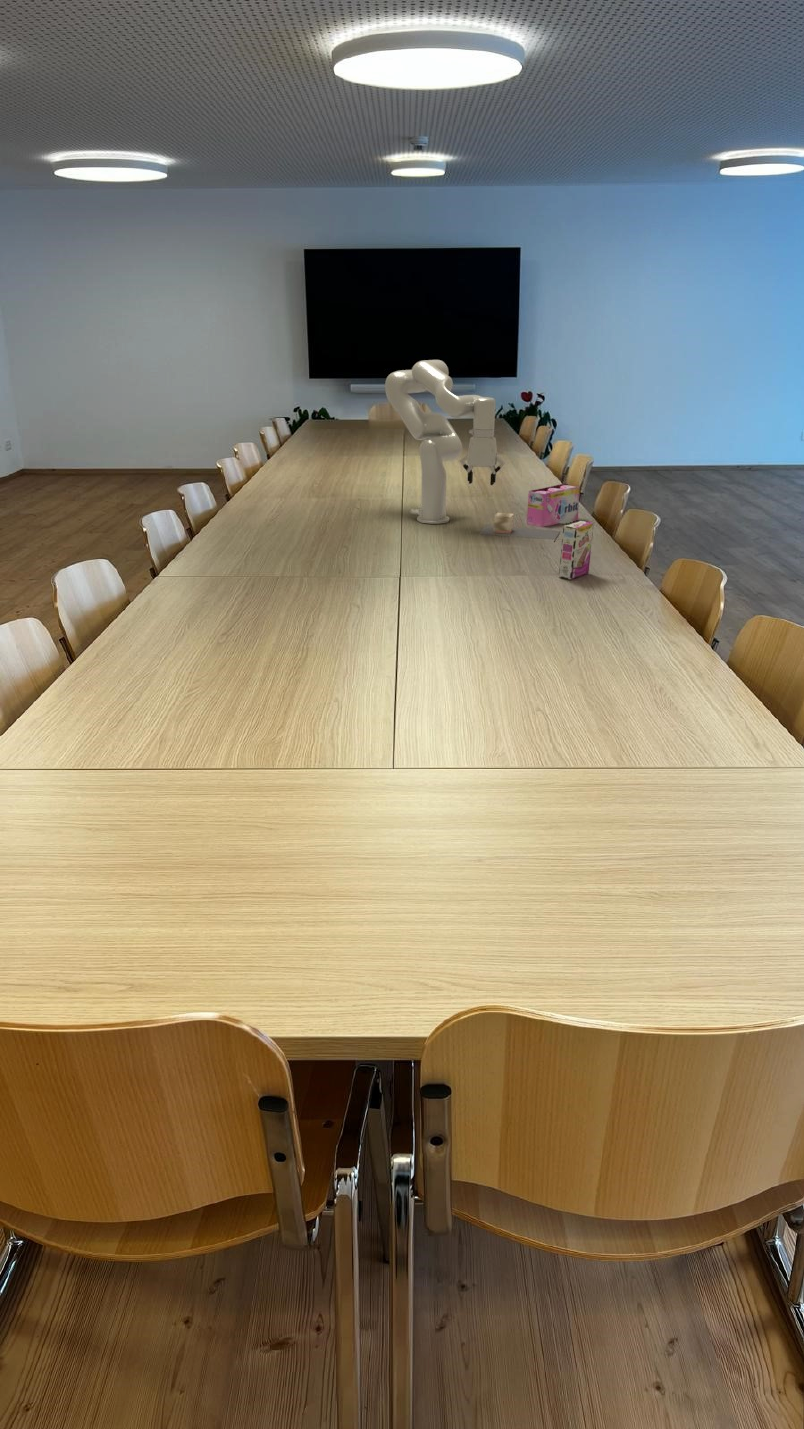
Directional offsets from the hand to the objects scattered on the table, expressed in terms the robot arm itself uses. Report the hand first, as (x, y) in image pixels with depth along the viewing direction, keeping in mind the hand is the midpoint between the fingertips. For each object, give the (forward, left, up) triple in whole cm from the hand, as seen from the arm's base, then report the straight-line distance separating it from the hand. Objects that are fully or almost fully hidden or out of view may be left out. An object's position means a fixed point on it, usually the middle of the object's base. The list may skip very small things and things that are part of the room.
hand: (481, 483), depth 354 cm
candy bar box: (+41, -49, -18) cm, 66 cm away
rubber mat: (+15, 0, -18) cm, 23 cm away
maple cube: (+9, 0, -17) cm, 19 cm away
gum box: (+24, +23, -18) cm, 38 cm away
